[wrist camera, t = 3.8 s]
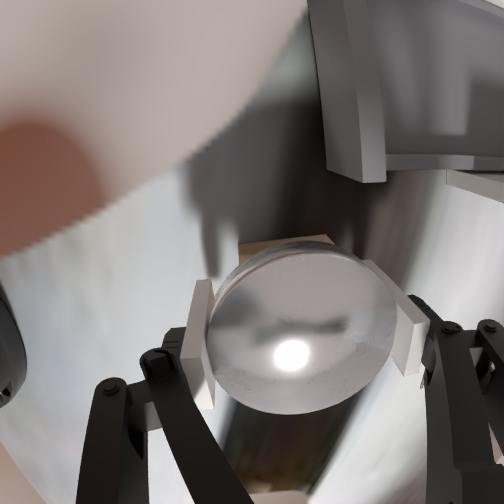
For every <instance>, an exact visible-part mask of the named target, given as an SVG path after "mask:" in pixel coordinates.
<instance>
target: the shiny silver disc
mask: <svg viewBox="0 0 504 504" xmlns="http://www.w3.org/2000/svg"><path fill="white" fill-rule="evenodd" d="M396 323H397V313H396V308H395V304H394V301H393V299H392V297H391V294H390V292H389V291H388V289H387V288H386V286H385V285H384V284H383V283H382V282H381V280H380V279H379V278H378V277H377V276H376V275H375V274H374V273H373V272H372V271H371V270H370V269H369V268H368V267H367V266H366V265H365V264H364V263H363V261H362V260H360V259H359V258H358V257H357V256H355V255H354V254H353V253H351V252H349V251H347V250H346V249H344V248H341V247H339V246H336V245H333V244H330V243H325V242H321V241H309V240H306V241H293V242H287V243H282V244H278V245H275V246H272V247H269V248H267V249H265V250H262V251H260V252H258V253H256V254H254V255H253V256H251V257H249V258H248V259H246V260H245V261H244V262H242V263H241V264H240V265H239V266H237V267H236V268H235V269H234V270H233V271H232V272H231V273H230V274H229V275H228V276H227V278H226V279H225V281H224V282H223V283H222V285H221V286H220V288H219V290H218V292H217V293H216V295H215V298H214V301H213V303H212V306H211V311H210V316H209V325H208V334H207V352H208V356H209V361H210V365H211V369H212V373H213V375H214V377H215V379H216V380H217V382H218V383H219V384H220V386H221V387H222V388H223V389H224V390H225V391H226V392H227V393H228V394H229V395H230V396H232V397H233V398H234V399H236V400H237V401H239V402H241V403H243V404H244V405H246V406H249V407H251V408H254V409H257V410H260V411H264V412H269V413H275V414H301V413H308V412H313V411H317V410H321V409H324V408H327V407H330V406H332V405H335V404H337V403H339V402H341V401H343V400H345V399H347V398H349V397H350V396H352V395H353V394H355V393H356V392H358V391H359V390H360V389H362V388H363V387H364V386H365V385H366V384H368V383H369V382H370V381H371V380H372V379H373V378H374V376H375V375H376V374H377V373H378V372H379V371H380V369H381V368H382V366H383V365H384V363H385V362H386V360H387V358H388V356H389V354H390V352H391V350H392V347H393V343H394V337H395V330H396Z"/></svg>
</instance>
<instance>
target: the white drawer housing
mask: <svg viewBox="0 0 504 504" xmlns="http://www.w3.org/2000/svg"><path fill="white" fill-rule="evenodd" d="M483 1H485V2H488V3H490V4H492V5H494V6H497V7H499V8H501V9H503V10H504V0H483ZM447 184H448V185H451V186H454V187H457V188H461V189H464V190H467V191H470V192H473V193H476V194H479V195H482V196H485V197H488V198H490V199H493V200H496V201H499V202H502V203H504V170H462V169H447Z"/></svg>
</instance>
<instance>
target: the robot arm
mask: <svg viewBox="0 0 504 504" xmlns="http://www.w3.org/2000/svg"><path fill="white" fill-rule="evenodd" d="M362 261H363V263H364V264H365V265H366V266H367V267H368V268H369V269H370V270H371V271H372V272H373V273H374V274H375V275H376V276H377V277H378V278H379V279H380V280H381V282H382V283H383V284H384V285H385V286H386V288H387V289H388V291H389V292H390V294H391V297H392V299H393V301H394V304H395V308H396V313H397V323H396V330H395V337H394V343H393V347H392V350H391V352H390V354H389V355H390V356H391V358H392V359H393V361H394V362H395V364H396V366H397V367H398V369H399V370H400V372H401V373H402V375H403V377H405V376H408V375H412V374H415V373H419V369H420V365H421V362H422V364H423V365H424V366H425V371H424V375H423V379H422V382H421V386H420V389H422V388H423V385H424V387H425V401H426V419H427V486H426V503H425V504H504V466H503V465H502V464H496V463H495V461H494V456H493V449H492V443H491V437H490V431H489V426H488V423H489V425H490V427H491V429H492V431H493V433H494V435H495V438H496V440H497V442H498V444H499V446H500V449H501V451H502V453H503V456H504V327H503V326H502V325H501V324H500V323H498V322H496V321H495V320H491V319H484V320H481V321H480V322H479V323H478V326H477V330H463V329H462V327H461V326H460V325H459V324H457V323H454V322H451V321H443V320H442V319H441V318H440V317H439V316H438V315H437V314H436V313H435V312H434V311H433V310H432V309H431V308H430V307H429V306H428V305H426V303H425V302H424V301H423V300H422V299H421V298H419V297H417V296H415V295H408V296H407V295H406V294H405V293H404V292H403V291H402V290H401V289H400V288H399V287H398V286H397V285H396V284H395V283H394V282H393V281H392V280H391V279H390V278H389V277H388V276H387V275H386V274H385V273H384V272H383V271H382V270H381V269H380V268H379V267H378V266H377V265H376V264H375V263H373V262H372V261H371V260H370V259H368V260H362ZM213 301H214V294H213V289H212V283H211V279H205V280H197V281H196V286H195V290H194V294H193V299H192V303H191V308H190V312H189V317H188V321H187V326H186V327H180V328H171V329H170V330H169V331H168V332H167V333H166V334H165V337H164V340H163V343H162V347H161V348H154V349H151V350H149V351H147V352H145V353H144V354H143V355H142V356H141V358H140V366H141V369H142V371H143V374H144V377H145V380H143V381H141V382H137V383H133V384H129V385H127V384H126V382H125V381H124V380H123V379H121V378H116V377H112V378H108V379H105V380H103V381H101V382H100V383H99V384H98V385H97V387H96V389H95V392H94V396H93V401H92V405H91V410H90V415H89V420H88V425H87V430H86V436H85V441H84V447H83V453H82V459H81V466H80V473H79V480H78V488H77V496H76V504H149V487H148V431H151V430H155V429H159V428H163V431H164V433H165V436H166V438H167V441H168V443H169V446H170V448H171V451H172V453H173V456H174V458H175V461H176V463H177V465H178V468H179V470H180V472H181V475H182V477H183V479H184V481H185V484H186V486H187V488H188V490H189V492H190V494H191V496H192V499H193V501H194V503H195V504H254V502H253V501H252V499H251V498H250V496H249V495H248V493H247V491H246V490H245V488H244V487H243V485H242V484H241V482H240V480H239V479H238V477H237V476H236V474H235V472H234V471H233V469H232V467H231V466H230V464H229V463H228V461H227V459H226V457H225V456H224V454H223V452H222V451H221V449H220V447H219V445H218V444H217V442H216V440H215V438H214V437H213V435H212V433H211V431H210V429H209V428H208V426H207V424H206V422H205V420H204V418H203V417H202V415H201V413H200V411H199V409H214V399H215V377H214V375H213V373H212V369H211V365H210V361H209V356H208V352H207V334H208V325H209V316H210V311H211V306H212V303H213ZM492 362H493V364H494V366H495V369H494V370H493V369H492V367H491V365H492ZM26 371H27V365H26V357H25V352H24V348H23V345H22V341H21V339H20V336H19V333H18V331H17V328H16V326H15V324H14V322H13V320H12V318H11V316H10V314H9V312H8V310H7V309H6V307H5V305H4V303H3V302H2V300H1V299H0V408H2V407H3V406H5V405H6V404H8V403H9V402H10V401H11V400H12V399H13V398H14V396H15V395H16V393H17V392H18V390H19V389H20V387H21V386H22V384H23V383H24V381H25V378H26Z"/></svg>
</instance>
